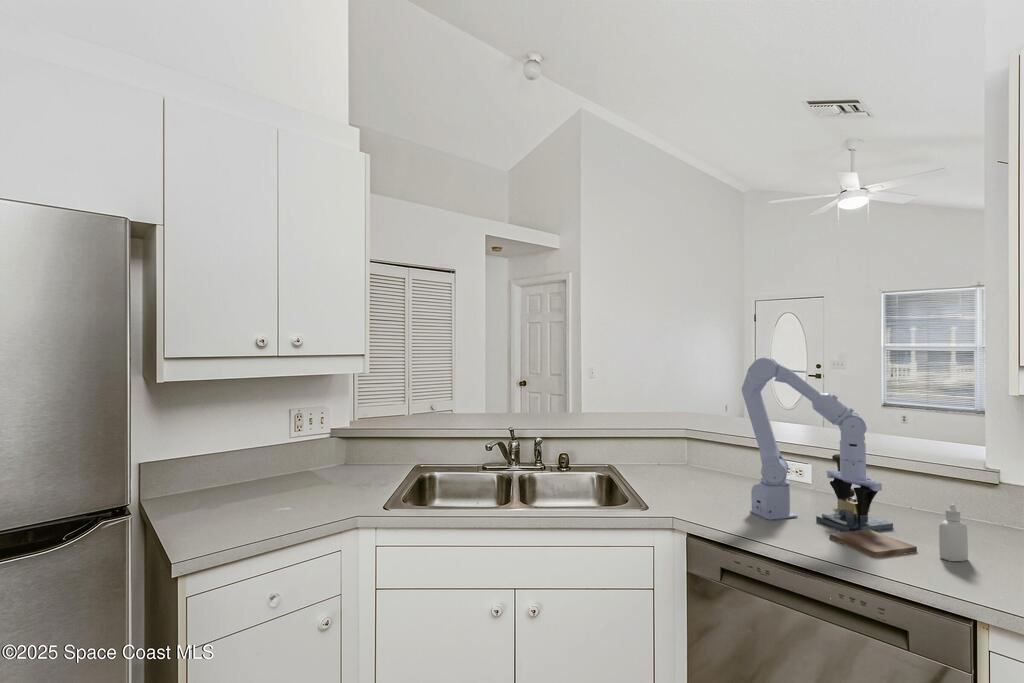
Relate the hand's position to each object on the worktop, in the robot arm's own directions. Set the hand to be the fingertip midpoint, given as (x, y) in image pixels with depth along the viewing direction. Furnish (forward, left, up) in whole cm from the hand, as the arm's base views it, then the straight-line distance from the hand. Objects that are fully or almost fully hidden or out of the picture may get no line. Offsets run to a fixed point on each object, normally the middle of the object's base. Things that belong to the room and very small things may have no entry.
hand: (853, 511), depth 136 cm
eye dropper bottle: (+2, -23, -4) cm, 23 cm away
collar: (0, 0, 0) cm, 0 cm away
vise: (0, 0, -4) cm, 4 cm away
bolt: (+11, +13, -4) cm, 17 cm away
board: (-8, -12, -4) cm, 15 cm away
